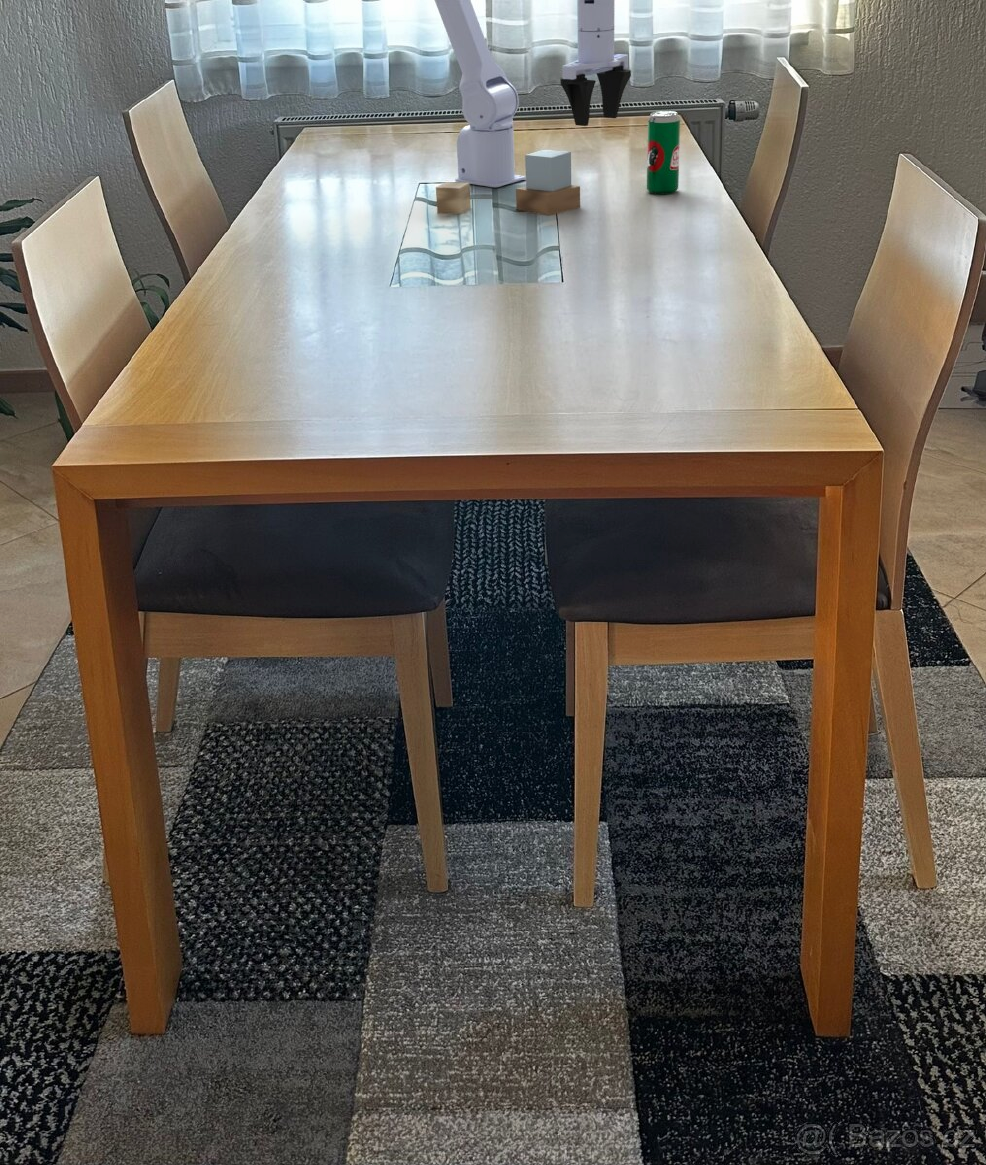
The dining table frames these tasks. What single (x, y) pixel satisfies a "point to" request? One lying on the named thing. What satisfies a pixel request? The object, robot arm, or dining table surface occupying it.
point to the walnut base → (548, 200)
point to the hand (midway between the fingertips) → (596, 121)
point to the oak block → (453, 197)
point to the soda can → (663, 152)
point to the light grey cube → (548, 170)
